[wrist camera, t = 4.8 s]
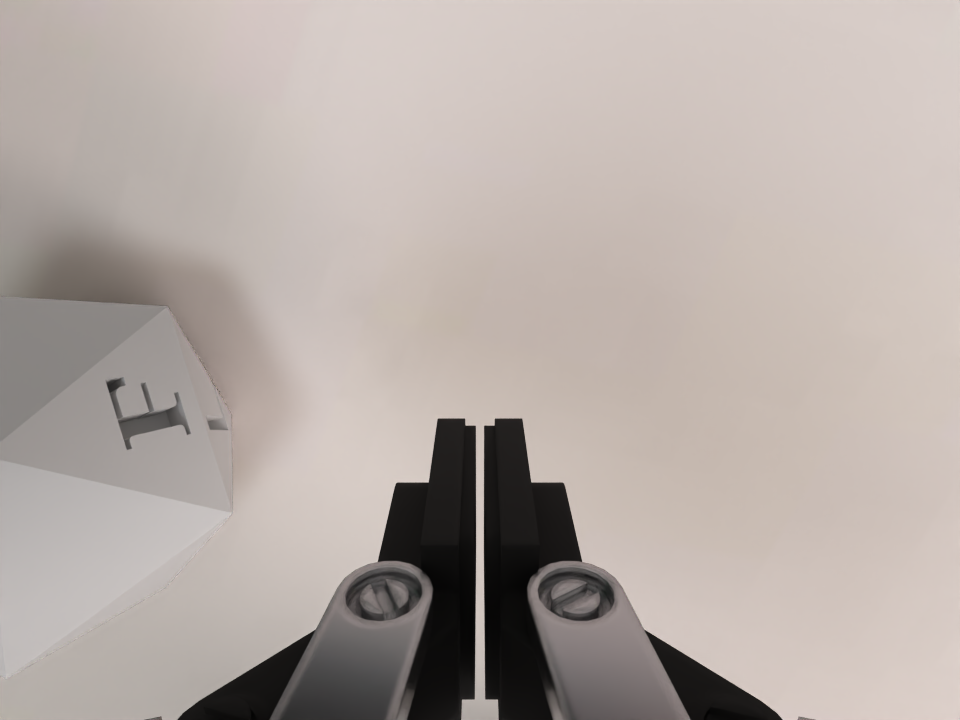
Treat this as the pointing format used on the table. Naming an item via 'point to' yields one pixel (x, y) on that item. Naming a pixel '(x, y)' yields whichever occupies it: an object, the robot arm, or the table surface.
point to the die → (100, 466)
